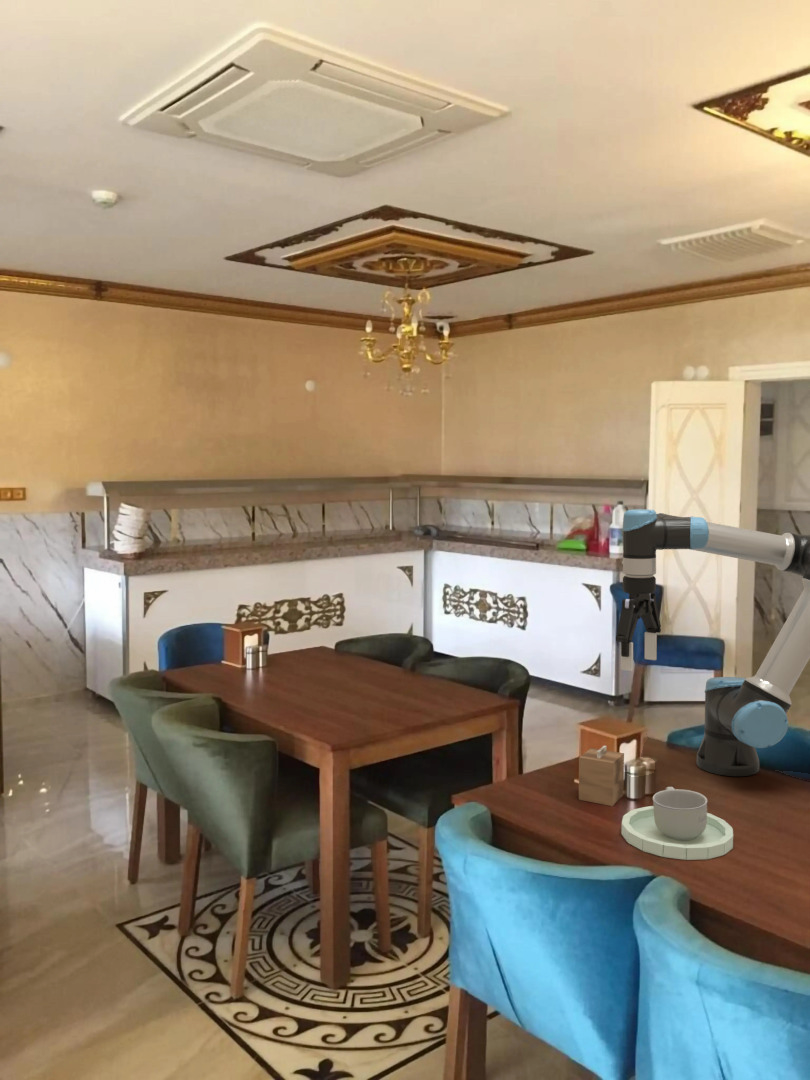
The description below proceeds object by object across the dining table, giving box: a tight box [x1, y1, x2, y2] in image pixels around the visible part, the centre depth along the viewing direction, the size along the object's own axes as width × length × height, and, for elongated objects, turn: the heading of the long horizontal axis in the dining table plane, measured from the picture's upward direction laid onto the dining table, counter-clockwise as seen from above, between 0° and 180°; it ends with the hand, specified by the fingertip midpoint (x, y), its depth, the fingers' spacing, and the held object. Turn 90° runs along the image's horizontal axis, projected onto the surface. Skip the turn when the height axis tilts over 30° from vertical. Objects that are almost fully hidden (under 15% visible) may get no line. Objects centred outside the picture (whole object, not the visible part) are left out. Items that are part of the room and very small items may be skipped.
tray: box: [620, 805, 734, 861], centre depth 191 cm, size 22×22×2 cm
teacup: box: [652, 786, 708, 840], centre depth 191 cm, size 14×11×8 cm
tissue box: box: [578, 745, 625, 807], centre depth 213 cm, size 8×8×12 cm
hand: (638, 664), depth 217 cm, fingers open, 13 cm apart
